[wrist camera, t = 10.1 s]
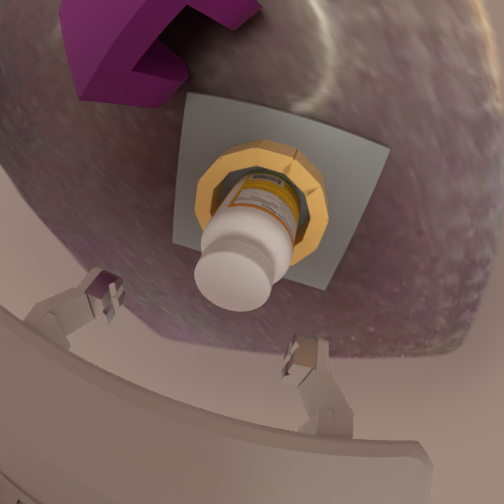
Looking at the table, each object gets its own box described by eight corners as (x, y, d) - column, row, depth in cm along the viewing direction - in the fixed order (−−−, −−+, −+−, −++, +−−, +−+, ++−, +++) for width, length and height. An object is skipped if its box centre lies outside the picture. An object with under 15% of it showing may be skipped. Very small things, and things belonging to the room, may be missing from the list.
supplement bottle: (256, 239, 24) (221, 329, 16) (219, 187, 22) (161, 262, 14) (313, 215, 21) (304, 307, 14) (277, 155, 19) (244, 221, 12)
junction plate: (176, 236, 27) (160, 258, 24) (192, 91, 19) (170, 95, 16) (325, 283, 26) (323, 309, 24) (387, 145, 18) (399, 159, 15)
